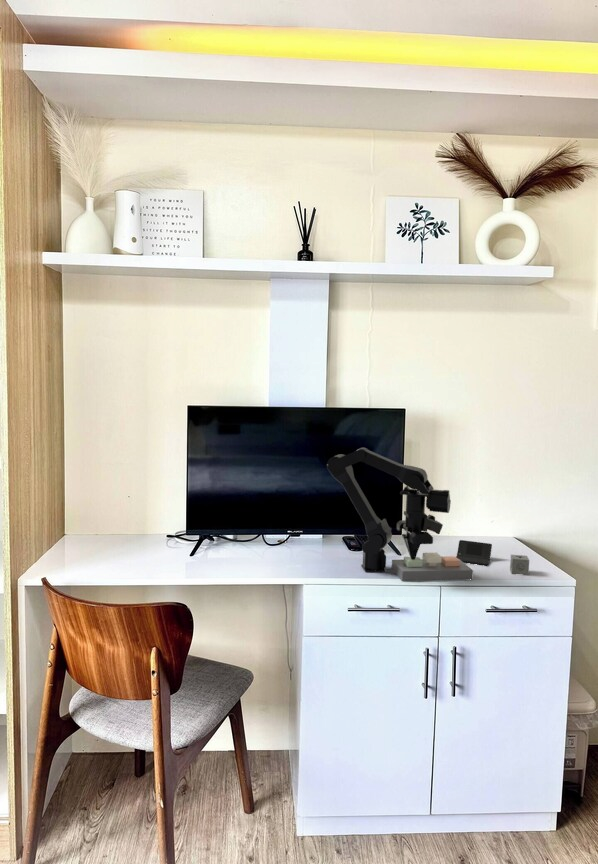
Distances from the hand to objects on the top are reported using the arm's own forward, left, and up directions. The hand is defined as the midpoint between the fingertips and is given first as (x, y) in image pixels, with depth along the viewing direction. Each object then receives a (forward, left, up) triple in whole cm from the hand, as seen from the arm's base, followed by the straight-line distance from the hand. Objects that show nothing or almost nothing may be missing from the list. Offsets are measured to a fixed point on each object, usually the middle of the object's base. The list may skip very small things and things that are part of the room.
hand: (412, 559), depth 214 cm
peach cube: (+12, 0, -5) cm, 13 cm away
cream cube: (+6, 0, -3) cm, 7 cm away
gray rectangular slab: (+6, 0, -5) cm, 8 cm away
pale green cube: (0, 0, -5) cm, 5 cm away
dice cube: (+35, 0, -5) cm, 35 cm away
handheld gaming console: (+25, +14, -5) cm, 29 cm away
